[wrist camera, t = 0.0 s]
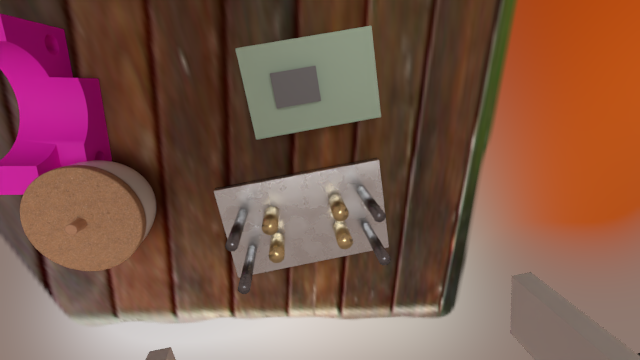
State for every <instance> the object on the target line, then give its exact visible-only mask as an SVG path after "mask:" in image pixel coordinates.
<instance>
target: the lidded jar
mask: <svg viewBox="0 0 640 360" xmlns="http://www.w3.org/2000/svg"><path fill="white" fill-rule="evenodd" d="M155 216H156V199H155V195H154V192H153V190H152V188H151V186H150V185H149V183H148V182H147V181H146V179H145V178H144V177H143V176H142V175H141V174H139V173H138V172H137V171H135V170H134V169H132V168H130V167H128V166H126V165H123V164H120V163H117V162H112V161H102V160H93V161H86V162H79V163H75V164H71V165H68V166H63V167H59V168H56V169H53V170H50V171H48V172H46V173H44V174H42V175H40V176H39V177H37V178H36V179H35V180H34V181H33V182H32V183H31V184H30V185H29V186H28V187H27V189H26V190H25V192H24V194H23V197H22V200H21V205H20V219H21V223H22V226H23V229H24V232H25V234H26V235H27V237H28V239H29V240H30V242H31V243H32V244H33V245H34V247H35V248H36V249H37V250H38V251H40V252H41V253H42V254H43V255H44V256H46V257H47V258H49V259H50V260H52V261H54V262H56V263H58V264H60V265H62V266H65V267H67V268H72V269H76V270H82V271H99V270H105V269H109V268H113V267H115V266H117V265H119V264H121V263H123V262H124V261H126V260H127V259H128V258H129V257H130V256H132V255H133V254H134V252H135V251H136V250H137V249H138V247H139V246H140V244H141V243H142V241H143V240H144V239H145V238H146V236H147V235H148V233H149V231H150V229H151V227H152V225H153V223H154V220H155Z"/></svg>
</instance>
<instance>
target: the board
mask: <svg viewBox="0 0 640 360" xmlns="http://www.w3.org/2000/svg"><path fill="white" fill-rule="evenodd" d="M235 50H236V54H237V58H238V63H239V67H240V71H241V76H242V80H243V84H244V89H245V93H246V98H247V102H248V106H249V111H250V115H251V119H252V124H253V128H254V132H255V137H256V140H257V139H262V138H268V137H273V136H279V135H284V134H290V133H295V132H301V131H306V130H312V129H317V128H323V127H328V126H334V125H339V124H345V123H350V122H356V121H361V120H367V119H372V118H378V117H381V112H380V102H379V93H378V83H377V74H376V64H375V55H374V45H373V36H372V26H366V27H360V28H354V29H348V30H342V31H337V32H331V33H325V34H319V35H313V36H307V37H301V38H295V39H289V40H283V41H277V42H271V43H265V44H259V45H253V46H247V47H241V48H235Z"/></svg>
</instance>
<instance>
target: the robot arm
mask: <svg viewBox="0 0 640 360" xmlns="http://www.w3.org/2000/svg"><path fill="white" fill-rule="evenodd" d="M511 292H512V293H511V330H510V332H511V334H512V335H513V336H514V337H515V338H516V339H517V341H518V342H519V343H520V344H521V345H522V346H523V347H524V348H525V349H526V351H527V352H528V353H529V354H530V355H531V356H532V357H533V358H534V359H535V360H640V353H638V354H637V353H635V352H634V351H633V350H631V349H630V348H629V347H627V346H626V345H625V344H623V343H622V342H621V341H620V340H618V339H617V338H616V337H614V336H613V335H612V334H611V333H609V332H608V331H607V330H605V329H604V328H603V327H601V326H600V325H599V324H598V323H596V322H595V321H594V320H592V319H591V318H590V317H588V316H587V315H586V314H584V313H583V312H582V311H580V310H579V309H578V308H576V307H575V306H574V305H573V304H572V303H570V302H569V301H568V300H566V299H565V298H564V297H562V296H561V295H560V294H558V293H557V292H556V291H555V290H553V289H552V288H551V287H549V286H548V285H547V284H545V283H544V282H543V281H542V280H540V279H539V278H538V277H536V276H535V275H534V274H532V273H531V272H529V273H524V274H519V275H514V276H512V290H511ZM146 360H176V359H175V357H174V355H173V352H172V349H171V347H169V348H165V349H160V350H155V351H150V352H149V354H148V356H147V358H146Z"/></svg>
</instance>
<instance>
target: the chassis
mask: <svg viewBox="0 0 640 360" xmlns="http://www.w3.org/2000/svg"><path fill="white" fill-rule="evenodd" d="M214 194H215V197H216V201H217V204H218V208H219V211H220V215H221V218H222V222H223V225H224V229H225V232H226V236H227V242H226V249H227V250H229V251H231V254H232V257H233V261H234V264H235V268H236V271H237V275H238V277H241V278H240V282H239V286H238V291H239V292H240V293H242V294H246V293H248V292H249V291H250V286H251V281H252V275H253V274H258V273H263V272H268V271H273V270H278V269H283V268H288V267H293V266H298V265H302V264H307V263H312V262H317V261H322V260H327V259H332V258H337V257H342V256H347V255H352V254H357V253H362V252H367V251H372V250H373V251H374V253H375V254H376V256H377V258H378V260H379V262H380V264H382V265H387V264H389V262H390V260H391V259H390V256H389V255H388V253H387V251H386V250H385V248H387V247H389V244H388V235H387V226H386V215H385V209H384V200H383V191H382V182H381V173H380V164H379V159H377V158H375V159H369V160H364V161H359V162H353V163H348V164H343V165H337V166H332V167H327V168H321V169H316V170H311V171H306V172H300V173H295V174H290V175H284V176H279V177H274V178H268V179H263V180H258V181H252V182H247V183H242V184H236V185H231V186H226V187H220V188H215V190H214Z"/></svg>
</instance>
